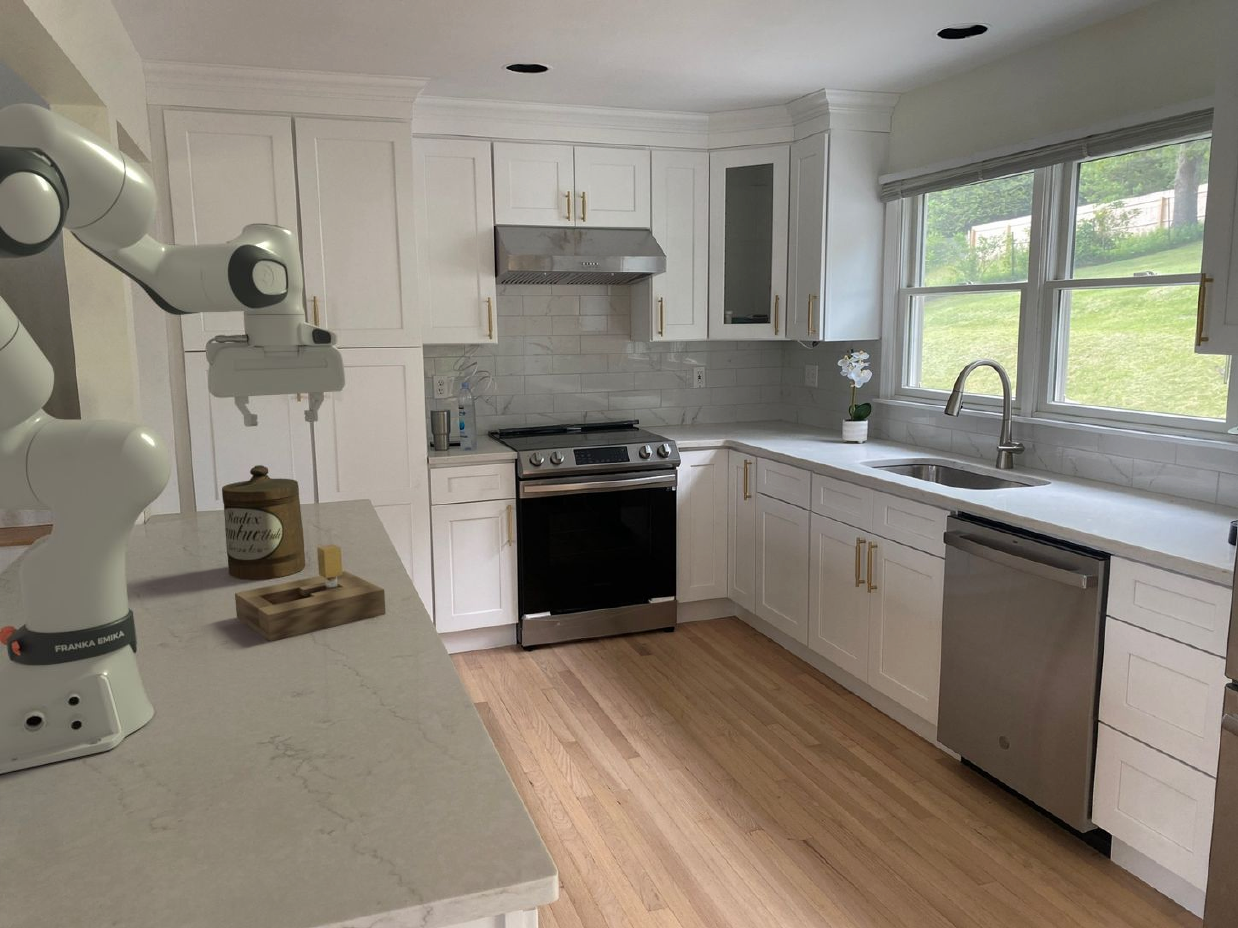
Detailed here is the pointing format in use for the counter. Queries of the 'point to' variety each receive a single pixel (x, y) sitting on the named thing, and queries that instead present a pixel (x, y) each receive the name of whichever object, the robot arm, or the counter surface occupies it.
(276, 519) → the wooden container
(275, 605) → the keyhole plate
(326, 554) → the keyhole peg
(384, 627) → the counter surface
